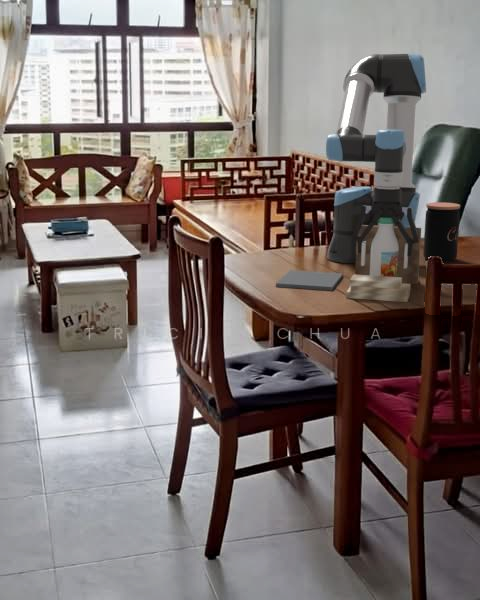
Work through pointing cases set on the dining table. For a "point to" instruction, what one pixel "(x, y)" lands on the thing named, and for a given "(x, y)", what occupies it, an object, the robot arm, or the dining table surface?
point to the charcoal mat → (310, 280)
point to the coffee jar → (441, 230)
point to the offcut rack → (382, 285)
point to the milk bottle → (384, 250)
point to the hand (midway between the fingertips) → (384, 266)
